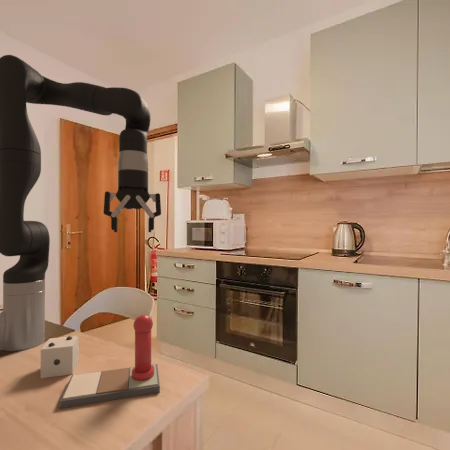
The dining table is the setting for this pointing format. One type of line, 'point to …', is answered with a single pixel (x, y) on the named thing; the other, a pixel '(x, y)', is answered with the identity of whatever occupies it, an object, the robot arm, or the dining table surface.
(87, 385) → the board
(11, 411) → the dining table surface
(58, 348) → the die
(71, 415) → the dining table surface
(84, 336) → the dining table surface
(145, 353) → the pawn
